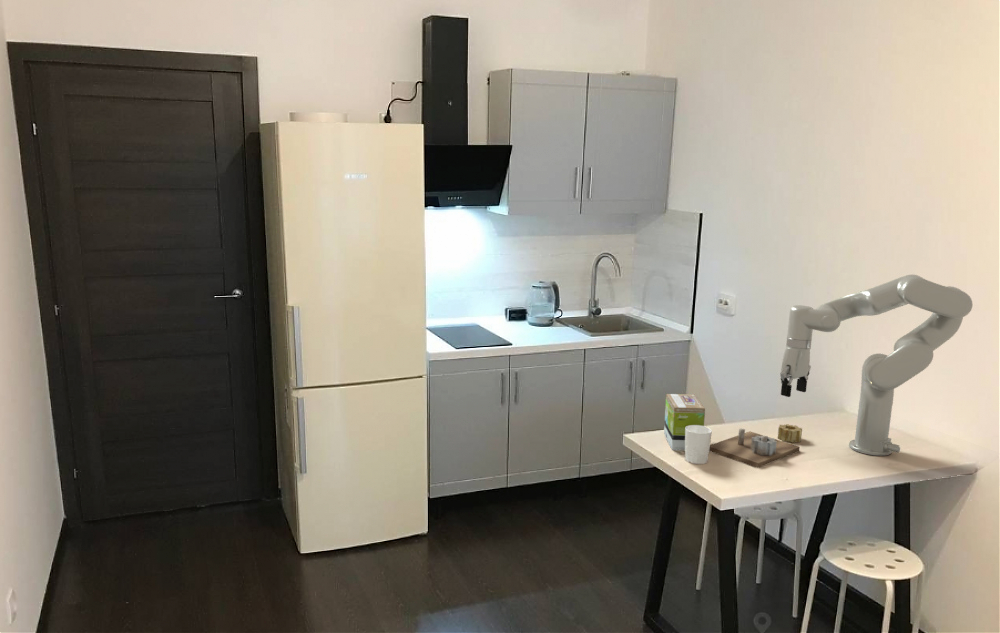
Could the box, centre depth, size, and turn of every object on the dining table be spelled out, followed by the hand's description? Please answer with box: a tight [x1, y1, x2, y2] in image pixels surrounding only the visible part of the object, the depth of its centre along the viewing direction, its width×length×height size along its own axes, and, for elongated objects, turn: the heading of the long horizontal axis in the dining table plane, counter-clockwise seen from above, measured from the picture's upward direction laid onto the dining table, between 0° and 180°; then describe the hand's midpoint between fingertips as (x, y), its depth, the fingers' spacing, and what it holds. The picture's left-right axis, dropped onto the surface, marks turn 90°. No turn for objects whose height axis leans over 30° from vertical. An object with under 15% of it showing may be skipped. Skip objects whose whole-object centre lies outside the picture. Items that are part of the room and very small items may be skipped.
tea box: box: [663, 393, 706, 452], centre depth 245 cm, size 15×10×15 cm, turn 178°
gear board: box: [709, 428, 800, 469], centre depth 240 cm, size 18×24×6 cm
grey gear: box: [751, 435, 777, 456], centre depth 236 cm, size 7×7×4 cm
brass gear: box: [777, 423, 803, 444], centre depth 253 cm, size 7×7×4 cm
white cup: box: [684, 425, 713, 465], centre depth 231 cm, size 8×8×10 cm
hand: (793, 393), depth 250 cm, fingers open, 9 cm apart
